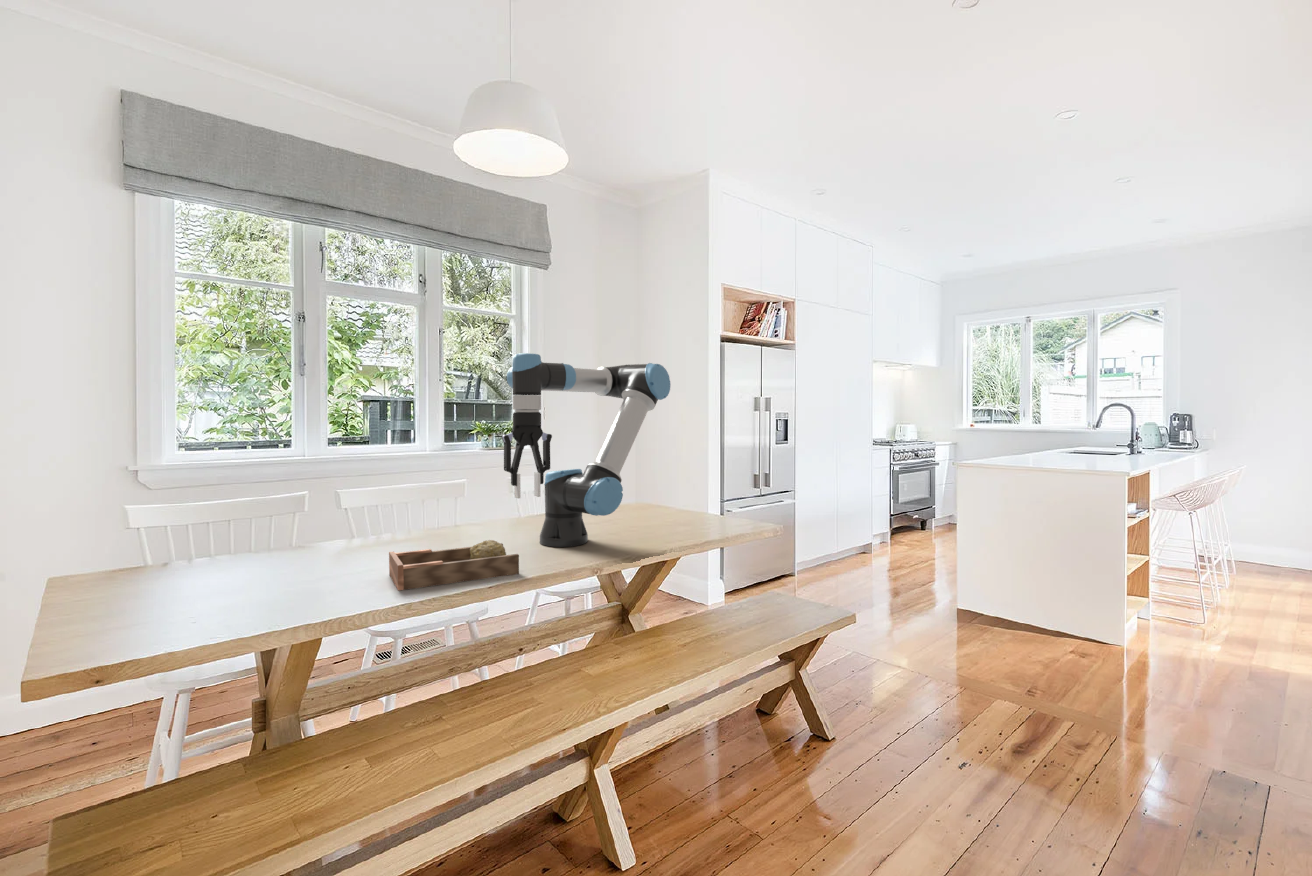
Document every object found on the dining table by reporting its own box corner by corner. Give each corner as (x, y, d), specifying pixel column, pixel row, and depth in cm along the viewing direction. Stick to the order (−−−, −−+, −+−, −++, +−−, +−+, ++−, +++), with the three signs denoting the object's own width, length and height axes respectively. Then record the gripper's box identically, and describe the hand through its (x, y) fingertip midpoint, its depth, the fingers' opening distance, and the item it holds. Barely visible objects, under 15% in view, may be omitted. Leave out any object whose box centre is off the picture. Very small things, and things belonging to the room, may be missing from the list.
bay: (501, 560, 174) (501, 539, 174) (518, 573, 161) (518, 551, 161) (389, 575, 159) (388, 552, 159) (398, 590, 146) (397, 565, 146)
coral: (510, 572, 162) (510, 543, 162) (474, 576, 158) (474, 547, 158) (502, 564, 171) (502, 536, 170) (467, 568, 167) (467, 539, 166)
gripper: (553, 410, 175) (553, 492, 177) (489, 411, 166) (490, 497, 168) (563, 411, 169) (563, 496, 170) (498, 411, 160) (498, 501, 161)
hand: (527, 496), depth 169 cm, fingers open, 5 cm apart
